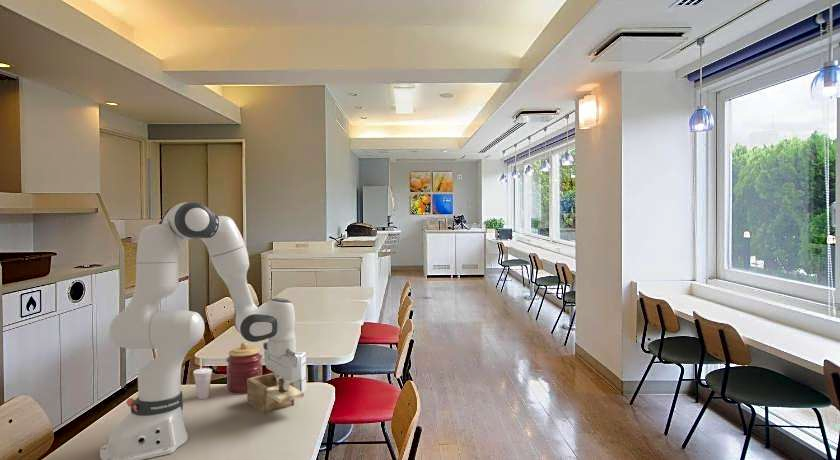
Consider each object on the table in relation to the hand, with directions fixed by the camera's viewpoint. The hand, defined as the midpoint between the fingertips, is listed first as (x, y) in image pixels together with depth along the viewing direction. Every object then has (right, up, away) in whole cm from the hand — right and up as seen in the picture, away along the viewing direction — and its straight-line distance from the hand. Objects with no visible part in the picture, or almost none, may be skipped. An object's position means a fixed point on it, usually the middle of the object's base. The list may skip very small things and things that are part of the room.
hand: (283, 387), depth 173 cm
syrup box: (0, -8, +19) cm, 21 cm away
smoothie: (-33, -8, +15) cm, 37 cm away
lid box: (-7, -8, +8) cm, 13 cm away
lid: (0, -2, 0) cm, 2 cm away
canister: (-21, -8, +24) cm, 33 cm away
